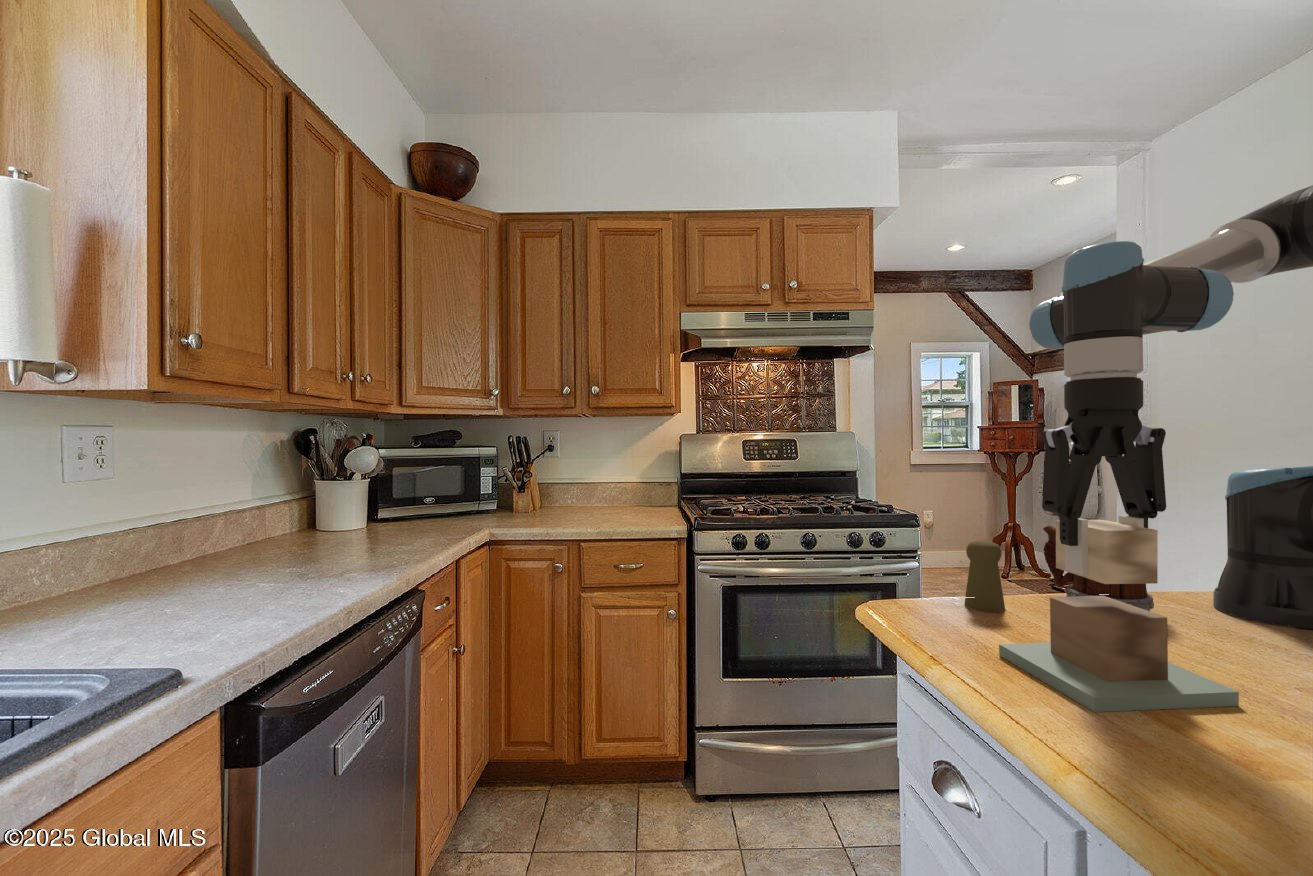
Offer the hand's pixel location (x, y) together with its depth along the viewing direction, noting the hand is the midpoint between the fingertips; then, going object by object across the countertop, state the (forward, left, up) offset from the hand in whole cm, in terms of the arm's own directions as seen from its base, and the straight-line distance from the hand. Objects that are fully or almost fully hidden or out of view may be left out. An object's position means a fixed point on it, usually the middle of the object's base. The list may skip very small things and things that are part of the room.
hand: (1104, 571), depth 71 cm
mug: (-21, -27, -13) cm, 37 cm away
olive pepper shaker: (-3, -29, -13) cm, 32 cm away
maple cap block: (0, 0, 0) cm, 0 cm away
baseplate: (0, 0, -13) cm, 13 cm away
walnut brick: (0, 0, -11) cm, 11 cm away
